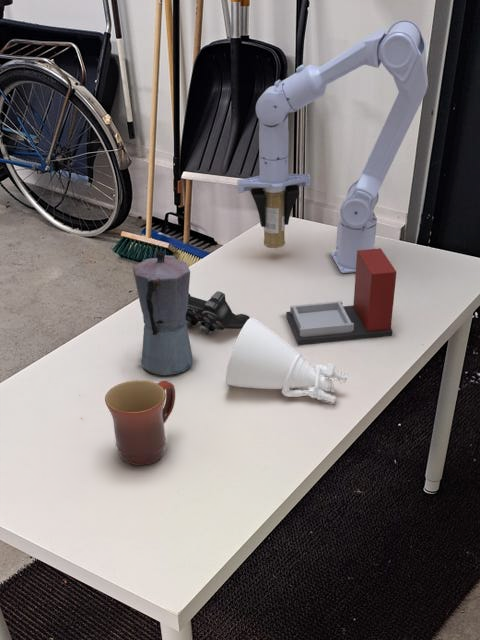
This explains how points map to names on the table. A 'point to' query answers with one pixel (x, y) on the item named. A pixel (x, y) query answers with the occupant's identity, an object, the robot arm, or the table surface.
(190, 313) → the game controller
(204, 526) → the table surface
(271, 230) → the sprinkles bottle
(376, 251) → the coffee maker
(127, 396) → the mug
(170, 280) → the moka pot
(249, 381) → the rocket engine
